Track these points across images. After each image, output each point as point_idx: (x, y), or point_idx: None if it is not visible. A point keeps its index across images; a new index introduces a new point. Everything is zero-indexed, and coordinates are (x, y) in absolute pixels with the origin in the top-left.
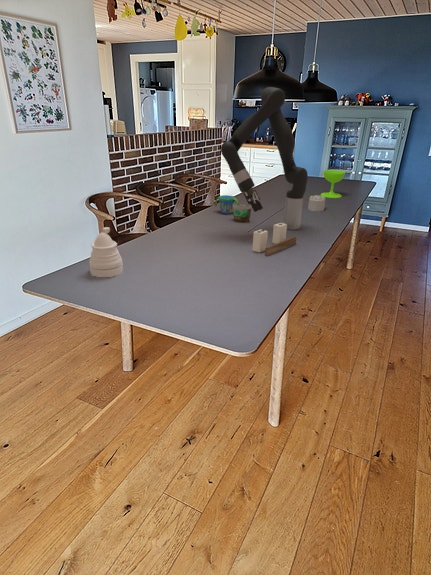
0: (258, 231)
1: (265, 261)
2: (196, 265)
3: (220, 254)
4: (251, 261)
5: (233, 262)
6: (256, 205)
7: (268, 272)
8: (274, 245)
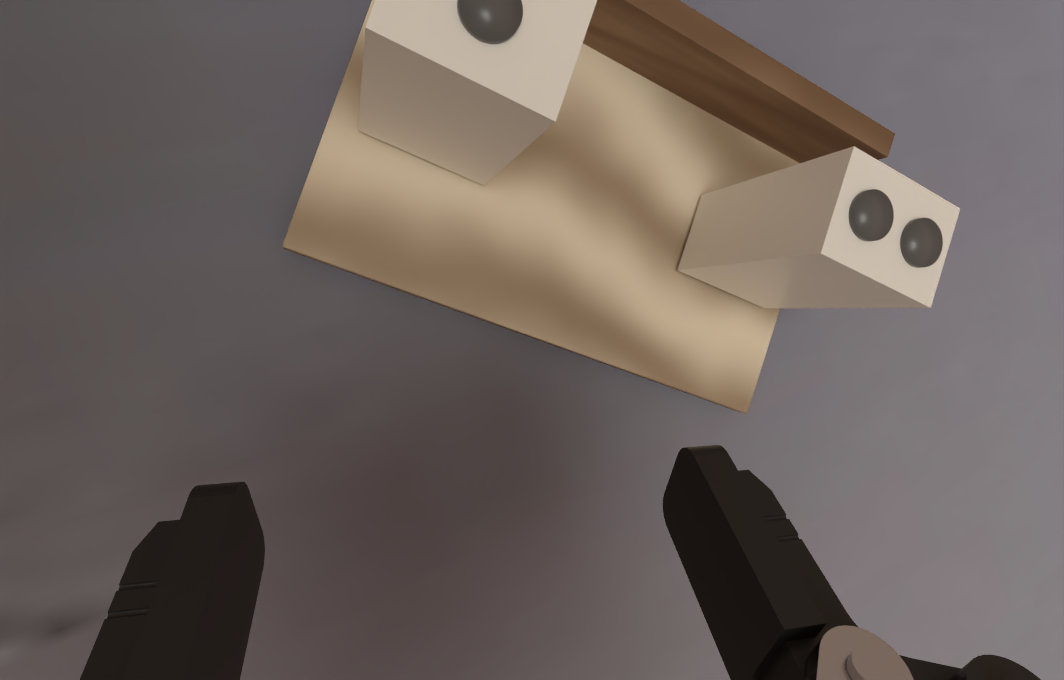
0: (924, 251)
1: None
2: (1041, 553)
3: (855, 521)
4: None
5: (943, 369)
6: (755, 549)
7: (1002, 101)
8: (813, 85)
